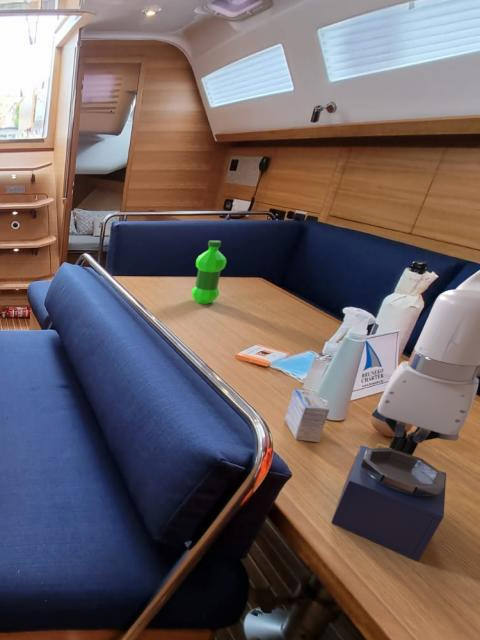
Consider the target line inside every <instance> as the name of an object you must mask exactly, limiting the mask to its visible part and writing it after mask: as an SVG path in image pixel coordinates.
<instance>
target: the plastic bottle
mask: <svg viewBox="0 0 480 640" xmlns="http://www.w3.org/2000/svg"><path fill="white" fill-rule="evenodd" d="M221 245H222V241H221V240H218V239H217V240H216V239H215V240H213V239H211V240H208V242H207V247H208V249H207V250H206V251H204V252H202V253H201V254H200V255H198V256H197V258H196V259H195V267H196V268H197V273H196V275H197V276H196V279H195V280H196V281H195V285H194V287H193V288H192V289H191V296H192V298H193V299H194V300H195V301H196V303H198V304H201V305H209V304H211V303H213V302H214V301H215V300H217V299H218V297H219V295H220V292H219V291H220V290H219V288H218V286H219V281H220V277H221V271H222V270H224V269H225V268H226V265H227V263H228V262H227V258H226V257H225V256H224V254H222V253H221V251H220V250H219V248H220V247H221Z"/></svg>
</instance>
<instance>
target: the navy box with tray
mask: <svg viewBox="0 0 480 640" xmlns="http://www.w3.org/2000/svg"><path fill="white" fill-rule="evenodd" d="M371 448H372V447H371ZM371 448H370V446H368V447H367V445H364V444H361V445H360V447H359V449H358V451H357V453H356V456H355V457H354V461H353V463H352V465H351V467H350V470H349V473H348V475H347V477H346V479H345V482H344V485H343V487H342V491H341V493H340V496H339V499H338V501H337V504H336V508H335V510H334V513H333V516H332V518H331V521H330V522H331V524H332V525H335V526H337V527H339V528H341V529H344V530H346V531H348V532H351V533H353V534H355V535H357V536H360V537H362V538H363V539H366V540H368V541H371V542H373V543H376V544H377V545H379V546H382V547H384V548H387V549H389V550H391V551H393V552H395V553H397V554H400V555H402V556H404V557H407V558H408V559H411V560H413V561H415V562H419V560H420V559H421V557H422V555H423V554H424V552H425V550H426V548H427V547H428V545H429V543H430V542H431V540H432V537H433V536H434V535H435V533H436V531H437V530H438V527H439V526H440V524H441V523H442V520H443V519H444V517H445V501H446V486H447V472H445V471H443V470H439V471H440V472H442V473H443V475H445V477H444V488H443V489H442V491H441V493H440V494H439V495H436V496H433V497H429V498H420V497H413V496H408V495H404V494H401V493H398V492H395V491H392V490H390V489H388V488H386V487H384V486H382V485H380V484H378V483H377V482H375V481H373V480H372V479H371V478H369V477H368V476H367V475H366V474H365V473H364V471H363V470H362V468H361V462H362V460H363V456H364V454H365V452H366V449H371Z"/></svg>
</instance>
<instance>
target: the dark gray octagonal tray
mask: <svg viewBox="0 0 480 640" xmlns="http://www.w3.org/2000/svg"><path fill="white" fill-rule="evenodd" d="M413 455H414V454H413ZM413 455H410V454H407V453H403V452H400V451H397V450H394V449H389V448H376V447H375V448H374V447H371V449H366V452H365V454H364V456H363V460H362V462H361V468H362V470H363V471H364V473H365V474H366V475H367V476H368V477H369V478H371V479H372V480H373V481H375V482H377V483H378V484H380V485H382V486H384V487H386V488H388V489H390V490H392V491H395V492H398V493H401V494H404V495H408V496H413V497H420V498H429V497H433V496H436V495H439V494H440V493H441V491H442V489H443V488H444V477H445V475H443V473H442V472H443V471H442V472H440V471H441V470H439V469H437V468H436V467H434V466H433V465H431V464H430V463H429V462H428V461H426V460H424V458H423V459H420V458H419V457H420V456H419V457H416V456H417V455H416V456H413Z"/></svg>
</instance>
